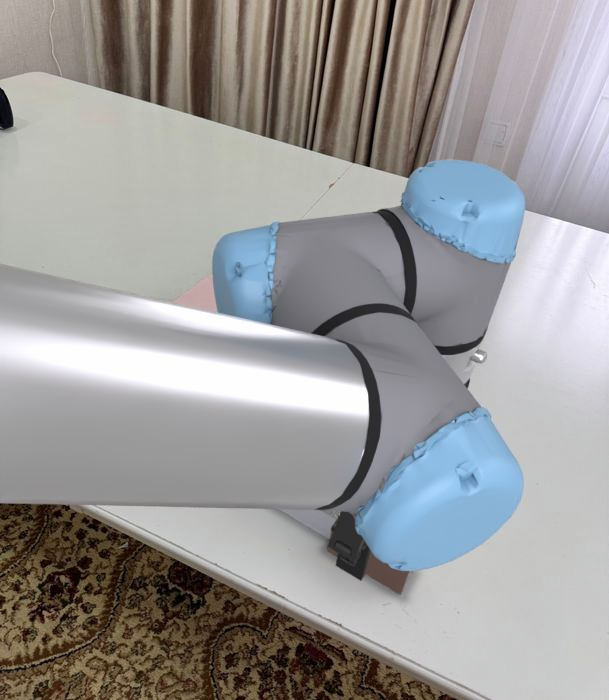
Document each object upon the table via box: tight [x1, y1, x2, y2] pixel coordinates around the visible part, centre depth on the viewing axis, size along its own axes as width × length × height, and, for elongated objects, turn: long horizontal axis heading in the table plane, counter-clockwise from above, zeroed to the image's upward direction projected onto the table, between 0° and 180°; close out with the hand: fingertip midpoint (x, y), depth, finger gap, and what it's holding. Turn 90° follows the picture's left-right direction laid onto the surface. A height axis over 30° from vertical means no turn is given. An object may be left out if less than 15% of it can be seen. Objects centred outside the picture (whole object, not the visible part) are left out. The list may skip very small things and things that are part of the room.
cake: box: [171, 274, 218, 313], centre depth 92 cm, size 10×12×6 cm
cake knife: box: [277, 509, 414, 596], centre depth 69 cm, size 26×3×5 cm, turn 58°
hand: (383, 517), depth 62 cm, fingers open, 13 cm apart
